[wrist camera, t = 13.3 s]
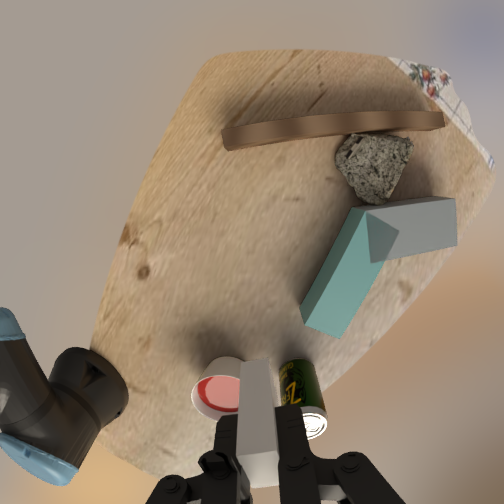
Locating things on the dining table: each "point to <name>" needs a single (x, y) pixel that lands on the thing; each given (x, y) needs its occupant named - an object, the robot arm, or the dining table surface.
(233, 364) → the white cup
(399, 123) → the walnut wall
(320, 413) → the beer can
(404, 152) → the rock sample
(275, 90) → the dining table surface
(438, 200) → the grey teal angled block
